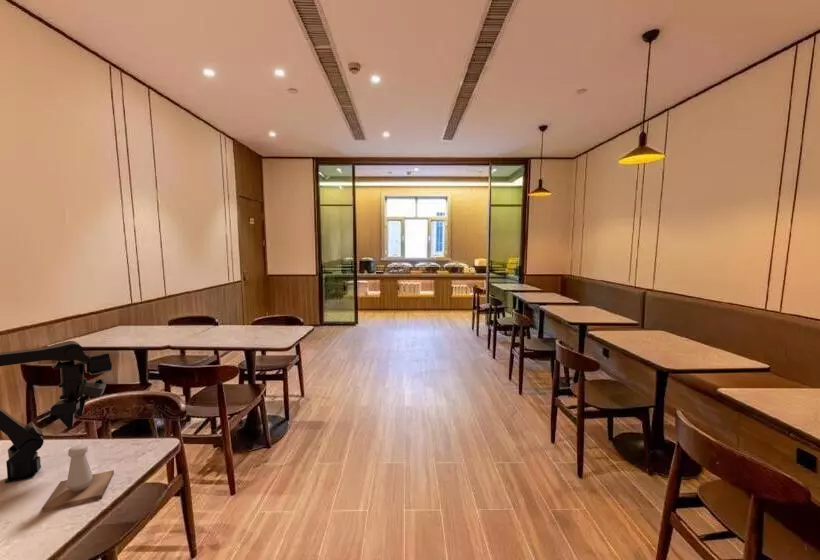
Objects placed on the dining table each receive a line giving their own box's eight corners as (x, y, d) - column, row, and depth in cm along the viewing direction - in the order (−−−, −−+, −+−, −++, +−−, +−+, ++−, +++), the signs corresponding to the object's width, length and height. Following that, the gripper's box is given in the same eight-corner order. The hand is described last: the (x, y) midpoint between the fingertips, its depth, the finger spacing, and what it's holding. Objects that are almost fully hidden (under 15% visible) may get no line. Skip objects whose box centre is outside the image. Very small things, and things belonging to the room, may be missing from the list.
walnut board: (42, 512, 101) (41, 508, 100) (60, 484, 112) (60, 481, 112) (101, 498, 106) (101, 494, 106) (113, 473, 118) (113, 470, 118)
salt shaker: (77, 495, 106) (74, 453, 105) (61, 492, 107) (58, 450, 106) (98, 482, 111) (95, 442, 110) (83, 480, 113) (80, 440, 111)
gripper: (94, 383, 119) (96, 429, 121) (109, 366, 136) (112, 407, 137) (48, 389, 114) (52, 436, 116) (70, 371, 131) (73, 412, 132)
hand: (75, 422), depth 125 cm, fingers open, 9 cm apart
